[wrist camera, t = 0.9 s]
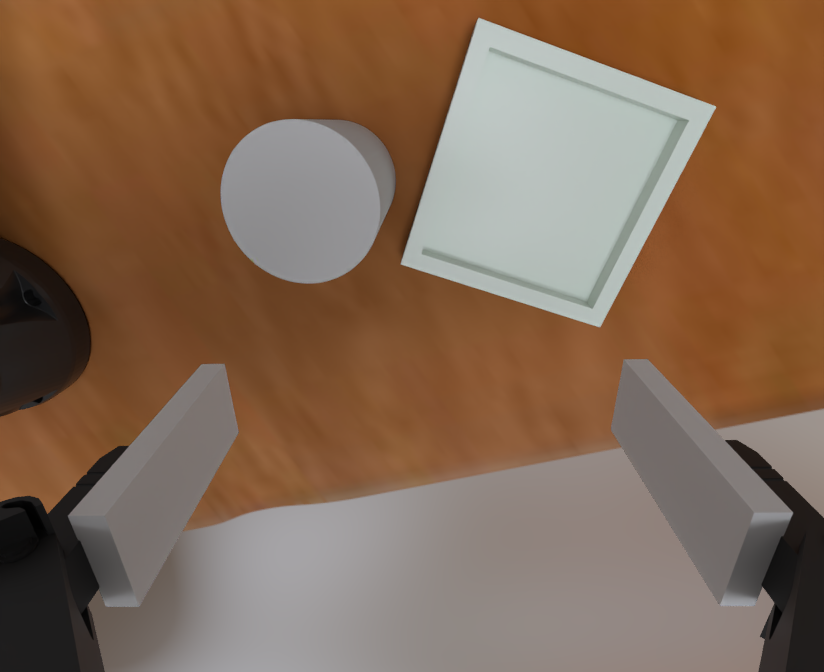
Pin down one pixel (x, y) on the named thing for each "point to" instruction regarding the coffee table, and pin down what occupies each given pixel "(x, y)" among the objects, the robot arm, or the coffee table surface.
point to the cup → (307, 196)
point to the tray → (549, 174)
